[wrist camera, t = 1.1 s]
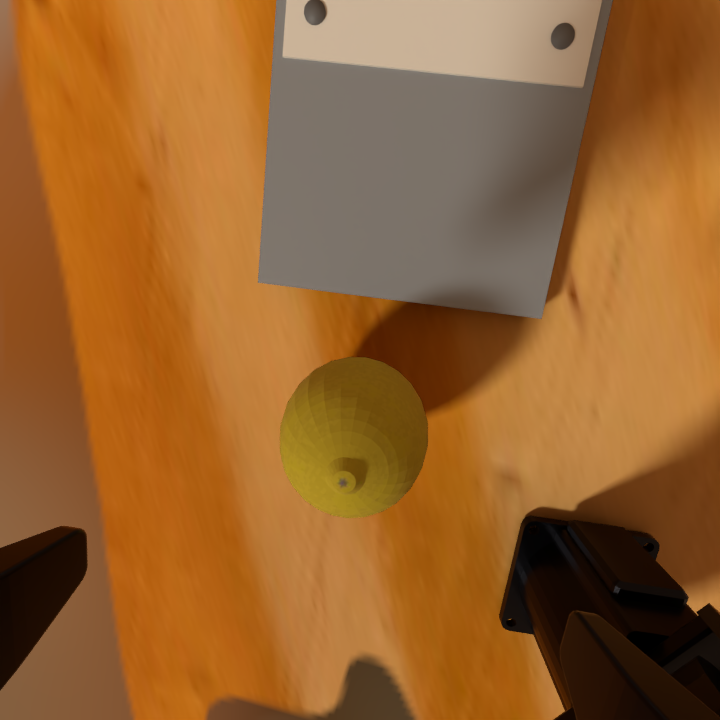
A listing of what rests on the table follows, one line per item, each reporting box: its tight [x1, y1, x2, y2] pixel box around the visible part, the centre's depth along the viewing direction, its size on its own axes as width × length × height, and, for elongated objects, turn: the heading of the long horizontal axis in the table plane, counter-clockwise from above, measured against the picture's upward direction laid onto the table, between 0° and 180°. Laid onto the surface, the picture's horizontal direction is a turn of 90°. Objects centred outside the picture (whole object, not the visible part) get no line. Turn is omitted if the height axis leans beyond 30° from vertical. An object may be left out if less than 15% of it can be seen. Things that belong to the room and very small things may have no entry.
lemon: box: [280, 357, 428, 518], centre depth 15 cm, size 6×6×8 cm
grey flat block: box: [258, 0, 613, 319], centre depth 15 cm, size 14×12×2 cm
